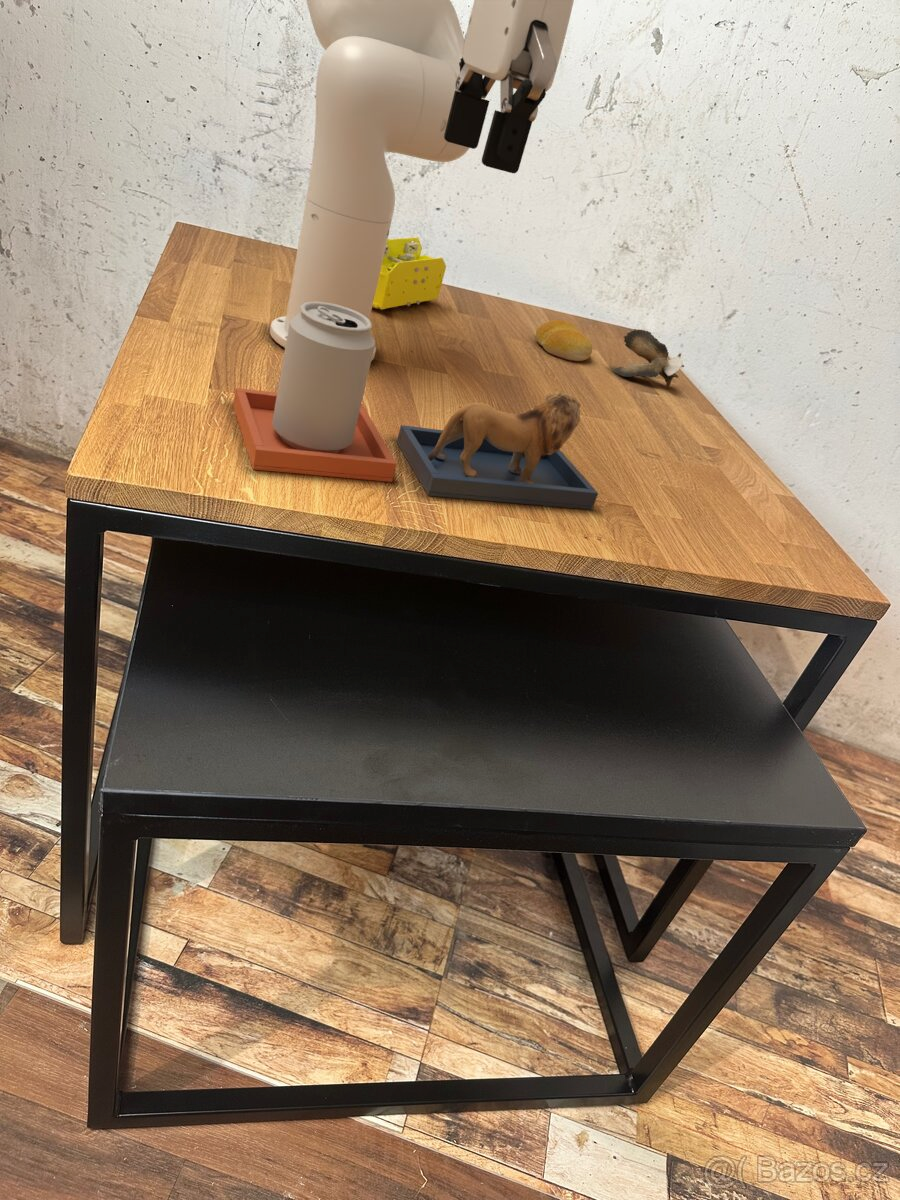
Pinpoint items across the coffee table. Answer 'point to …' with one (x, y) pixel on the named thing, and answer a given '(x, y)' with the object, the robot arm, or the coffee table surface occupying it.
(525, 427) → the lion figurine
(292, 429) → the can
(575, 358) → the bread roll
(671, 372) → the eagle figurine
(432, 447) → the slate tray
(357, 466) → the terracotta tray
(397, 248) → the yellow toy chassis
